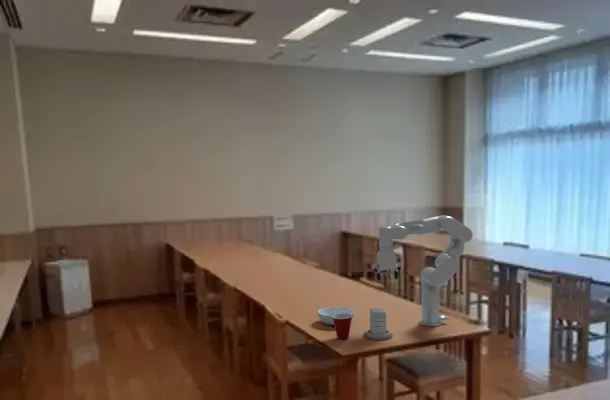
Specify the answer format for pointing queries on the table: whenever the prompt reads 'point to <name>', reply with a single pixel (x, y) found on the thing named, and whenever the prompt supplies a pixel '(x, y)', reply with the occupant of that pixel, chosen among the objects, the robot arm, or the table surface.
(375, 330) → the supplement box
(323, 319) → the serving bowl
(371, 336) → the ring tray
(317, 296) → the table surface
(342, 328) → the plastic cup
